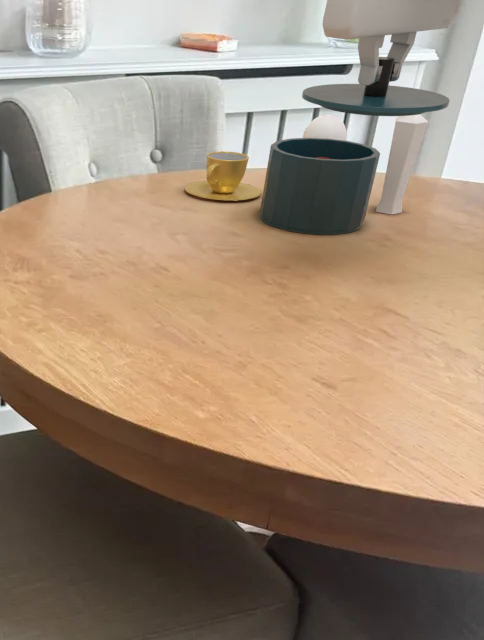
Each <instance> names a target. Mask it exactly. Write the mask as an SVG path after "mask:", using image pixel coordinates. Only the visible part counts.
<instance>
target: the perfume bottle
mask: <svg viewBox="0 0 484 640" xmlns="http://www.w3.org/2000/svg"><path fill="white" fill-rule="evenodd" d="M428 125H429V120H427V119H426V118H425V117H424V116H423V115H422V114H418V115H410V116H396V118H395V123H394V128H393V133H392V134H393V135H392V139H391V144H390V150H389V154H388V159H387V166H386V170H385V176H384V181H383V185H382V192H381V197H380V199H379V201H378V204H377V206H376V208H375V212H376V213H380V214H387V215H397V214H400V213H402V212H403V199H404V196H405V193H406V190H407V188H408V184H409V181H410V178H411V175H412V173H413V169H414V166H415V163H416V160H417V158H418V155H419V151H420V148H421V145H422V142H423V140H424V136H425V133H426V130H427V128H428Z"/></svg>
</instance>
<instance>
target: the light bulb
mask: <svg viewBox="0 0 484 640" xmlns="http://www.w3.org/2000/svg"><path fill="white" fill-rule="evenodd" d="M347 131H348V130H347V128H346V126H345V123H344V121H342V119H341V118H339V117H338V116H336V115H334V114H321V115H319V116H317V117H315V118H314V119H312V120H311V121H310V123H308V124H307V126H306V127H305V129H304V131H303V134H302V138H327V139H336V140H345V141H347V137H348V132H347Z"/></svg>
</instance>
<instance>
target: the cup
mask: <svg viewBox="0 0 484 640" xmlns="http://www.w3.org/2000/svg"><path fill="white" fill-rule="evenodd" d="M249 158H250V157H249V155H247V154H245V153H242V152H237V151H229V150H227V151H226V150H225V151H222V150H221V151H220V150H219V151H212V152H208V153H207V154H206V168H205V169H206V180H200V181H195V182H191V183H188V184H187V185H185V187H184V190H185V192H186V193H188V194H190V195H192V196H195V197H199V198H203V199H209V200H217V201H245V200H251V199H255V198H258V197H259V196H261V194H262V192H261V190H260V189H259V188H257V187H256V186H254V185H251V184H248V183H244V182H242V180H243V178H244V175H245V173H246V170H247V167H248V162H249Z"/></svg>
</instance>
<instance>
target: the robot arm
mask: <svg viewBox="0 0 484 640" xmlns="http://www.w3.org/2000/svg"><path fill="white" fill-rule="evenodd" d="M462 2H463V0H326V4H325V8H324V13H323V16H322V29H323V34H324V36H325V37H326V38H332V39H339V40H358V43H357V50H358V57H359V63H360V64H359V65H360V68H359V73H358V76H357V77H358V78H357V83H358V84H363V85H373V84H377V83H378V82H379V81H380V74H381V72H382V68H383V66H381V65H379V57H380V49H382V48H383V47H384V42H385V37H386V36H391V37H390V40H389V41H390V43H391V46H390V49H389V51H388V53H387V56H386V57H390V58H394V64H393V68H392V73H391V77H390V81H389V83H391V82H397V81H398V80H399V78H400V76H401V72H402V67H403V63H404V62H405V60H406V59H407V57H408V55H409V54H410V51H411V50H412V48H413V46H414V45H415V41H416V36H417V33H418V32H426V31H434V30H443V29H448V28H450V27H451V26H452V24H453V22H454V21H455V19H456V18H457V16H458V14H459V11H460V8H461V6H462Z"/></svg>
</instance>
